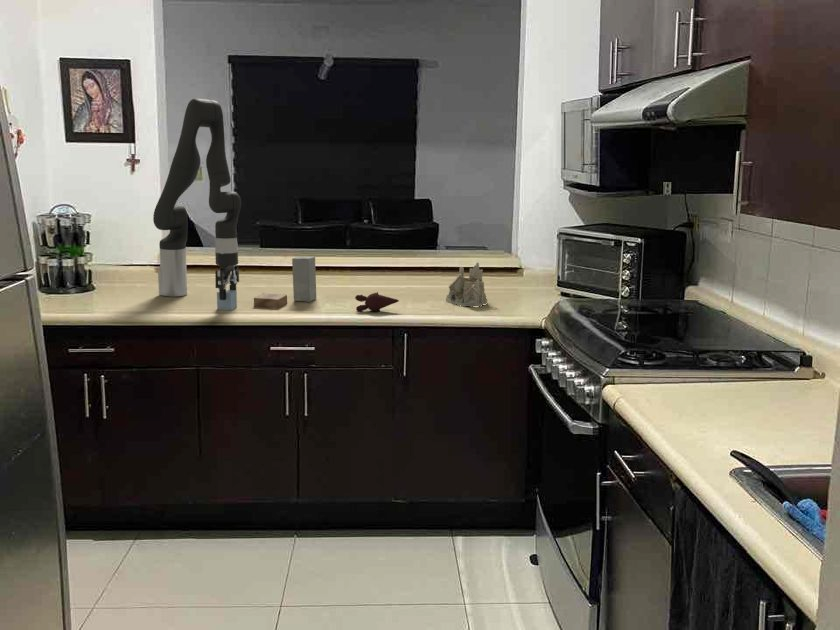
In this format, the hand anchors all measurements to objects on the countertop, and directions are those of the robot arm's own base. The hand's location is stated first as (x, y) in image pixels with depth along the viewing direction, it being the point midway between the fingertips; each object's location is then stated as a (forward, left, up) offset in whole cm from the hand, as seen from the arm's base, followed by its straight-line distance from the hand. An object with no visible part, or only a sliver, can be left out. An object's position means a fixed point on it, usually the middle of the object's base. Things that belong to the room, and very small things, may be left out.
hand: (228, 297), depth 299 cm
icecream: (+50, +12, -4) cm, 51 cm away
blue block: (0, 0, -4) cm, 4 cm away
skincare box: (+20, +23, -4) cm, 30 cm away
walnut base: (+12, +10, -4) cm, 16 cm away
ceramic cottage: (+77, +38, -4) cm, 86 cm away
